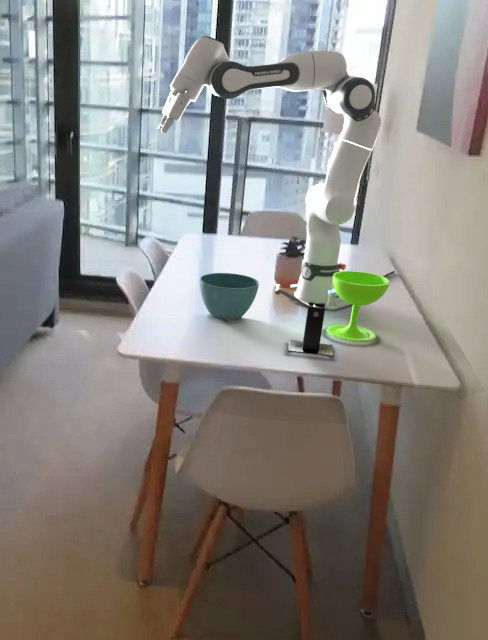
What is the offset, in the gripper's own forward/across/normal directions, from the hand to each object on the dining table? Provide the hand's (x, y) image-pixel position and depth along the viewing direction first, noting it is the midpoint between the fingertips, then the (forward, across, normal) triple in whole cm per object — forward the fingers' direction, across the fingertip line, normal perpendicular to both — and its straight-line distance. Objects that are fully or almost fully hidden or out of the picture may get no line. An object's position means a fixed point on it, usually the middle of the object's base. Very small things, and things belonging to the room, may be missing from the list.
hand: (161, 131), depth 221 cm
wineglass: (+22, -32, -76) cm, 85 cm away
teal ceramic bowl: (+38, -18, -44) cm, 61 cm away
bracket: (+29, -46, -62) cm, 82 cm away
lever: (+20, -44, -50) cm, 70 cm away
